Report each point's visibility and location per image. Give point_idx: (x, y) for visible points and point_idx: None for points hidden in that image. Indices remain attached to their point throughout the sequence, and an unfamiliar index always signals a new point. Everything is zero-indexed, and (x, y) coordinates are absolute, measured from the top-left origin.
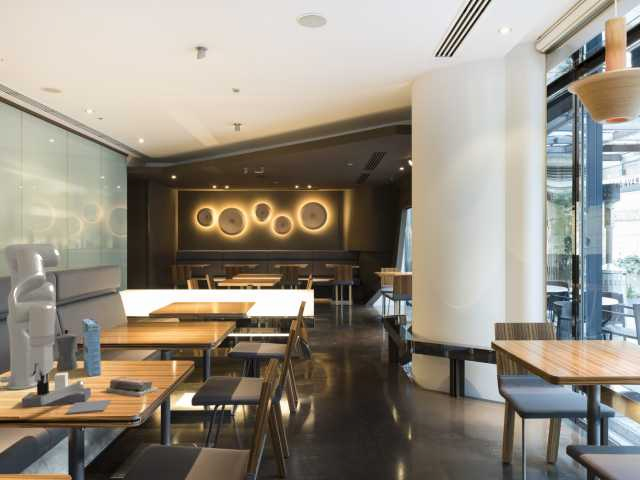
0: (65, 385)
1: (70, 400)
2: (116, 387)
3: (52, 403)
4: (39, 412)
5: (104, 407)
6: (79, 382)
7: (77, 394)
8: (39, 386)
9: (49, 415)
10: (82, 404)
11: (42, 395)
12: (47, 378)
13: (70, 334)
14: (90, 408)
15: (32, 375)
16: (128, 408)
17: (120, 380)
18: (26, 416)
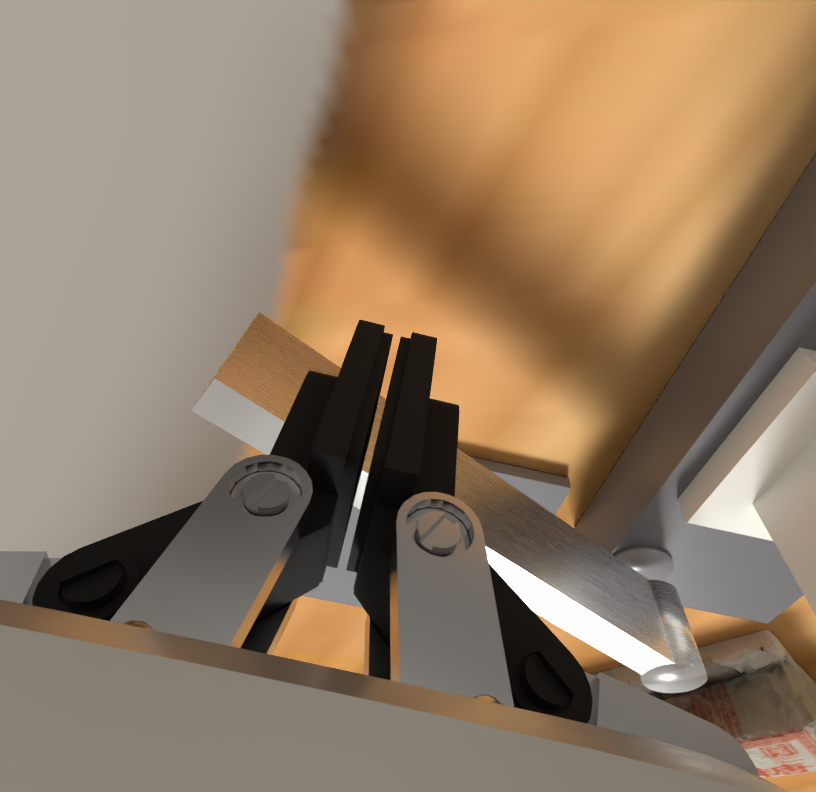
0: (793, 560)
1: (631, 472)
2: (723, 688)
3: (712, 333)
4: (502, 216)
5: (332, 599)
6: (642, 675)
7: (621, 551)
8: (278, 446)
9: (343, 313)
10: None
11: (217, 396)
12: (365, 645)
13: None
14: (347, 549)
15: (35, 609)
16: (299, 653)
17: None
18: (417, 79)
